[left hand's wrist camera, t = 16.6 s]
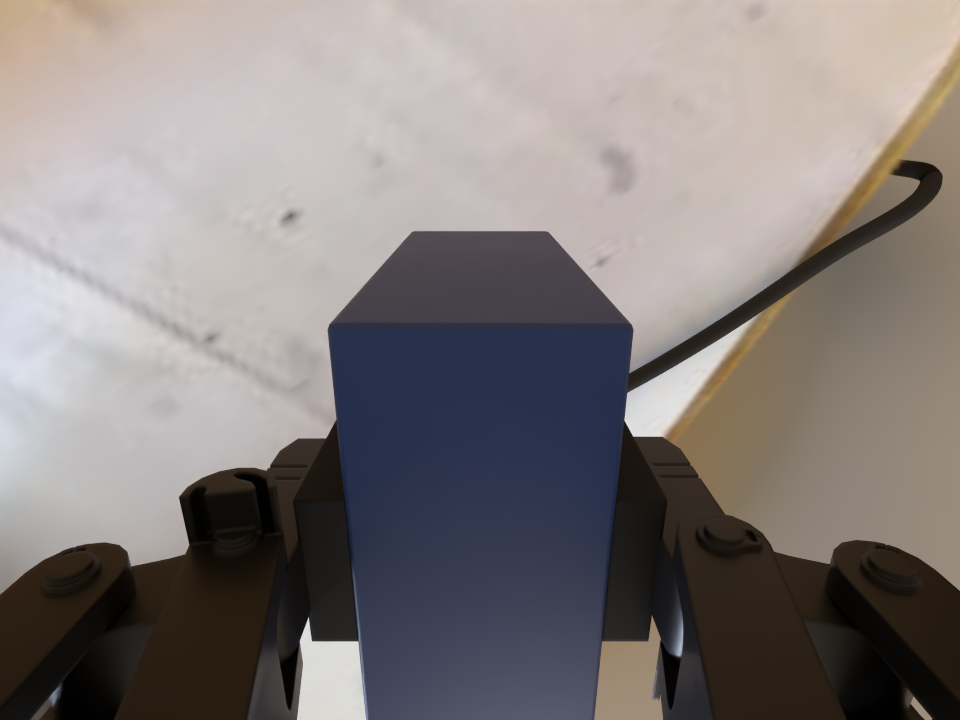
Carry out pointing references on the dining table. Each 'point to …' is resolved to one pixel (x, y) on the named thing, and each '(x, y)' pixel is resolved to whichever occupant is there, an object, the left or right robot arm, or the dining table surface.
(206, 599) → the left robot arm
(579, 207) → the dining table surface
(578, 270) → the block
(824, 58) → the dining table surface
